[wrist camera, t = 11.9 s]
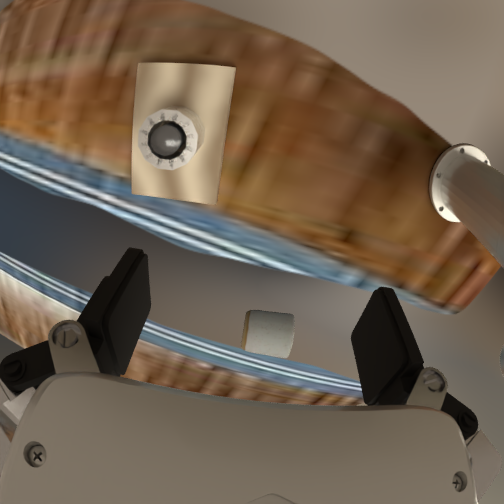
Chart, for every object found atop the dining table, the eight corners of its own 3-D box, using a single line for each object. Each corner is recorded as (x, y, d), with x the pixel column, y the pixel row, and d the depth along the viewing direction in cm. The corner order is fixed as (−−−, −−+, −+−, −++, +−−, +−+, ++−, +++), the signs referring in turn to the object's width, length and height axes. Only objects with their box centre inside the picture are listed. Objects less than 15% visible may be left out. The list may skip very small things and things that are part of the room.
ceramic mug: (246, 299, 50) (242, 334, 43) (294, 304, 50) (296, 339, 43) (241, 339, 56) (237, 371, 49) (283, 343, 56) (283, 375, 49)
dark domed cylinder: (191, 121, 33) (180, 127, 29) (188, 147, 35) (178, 157, 31) (164, 119, 33) (151, 125, 29) (162, 145, 34) (149, 154, 31)
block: (236, 67, 30) (235, 67, 29) (217, 200, 40) (215, 205, 39) (142, 63, 30) (138, 62, 28) (135, 189, 40) (131, 193, 38)
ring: (207, 108, 32) (200, 112, 29) (201, 163, 36) (194, 172, 32) (152, 104, 32) (139, 108, 28) (149, 157, 35) (137, 166, 32)
